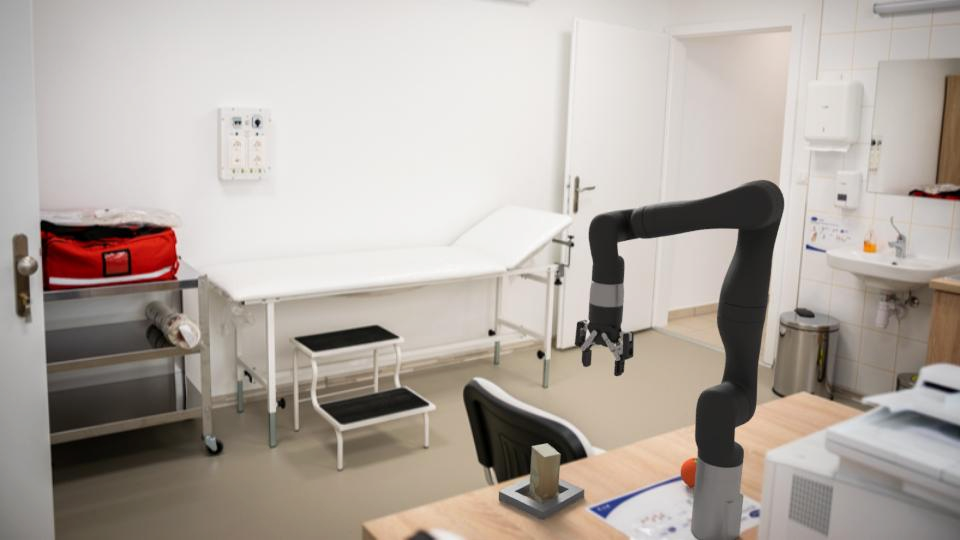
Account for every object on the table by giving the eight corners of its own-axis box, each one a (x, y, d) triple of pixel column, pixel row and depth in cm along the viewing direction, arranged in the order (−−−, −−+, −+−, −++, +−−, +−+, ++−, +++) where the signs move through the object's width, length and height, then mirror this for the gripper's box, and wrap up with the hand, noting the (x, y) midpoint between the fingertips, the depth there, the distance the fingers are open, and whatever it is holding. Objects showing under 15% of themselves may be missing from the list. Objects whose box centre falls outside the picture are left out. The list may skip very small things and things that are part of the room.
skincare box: (528, 494, 184) (530, 445, 182) (544, 490, 186) (546, 442, 183) (542, 507, 178) (544, 456, 176) (558, 503, 180) (561, 453, 178)
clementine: (717, 493, 187) (720, 465, 185) (691, 497, 185) (694, 468, 183) (698, 478, 194) (701, 451, 193) (673, 481, 192) (676, 454, 191)
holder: (584, 497, 183) (584, 489, 183) (542, 520, 173) (543, 512, 172) (540, 478, 192) (540, 470, 192) (498, 499, 181) (499, 491, 181)
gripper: (643, 304, 174) (638, 374, 177) (590, 292, 183) (586, 359, 187) (623, 310, 168) (619, 382, 172) (570, 297, 178) (566, 366, 181)
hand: (602, 370), depth 179 cm, fingers open, 8 cm apart
